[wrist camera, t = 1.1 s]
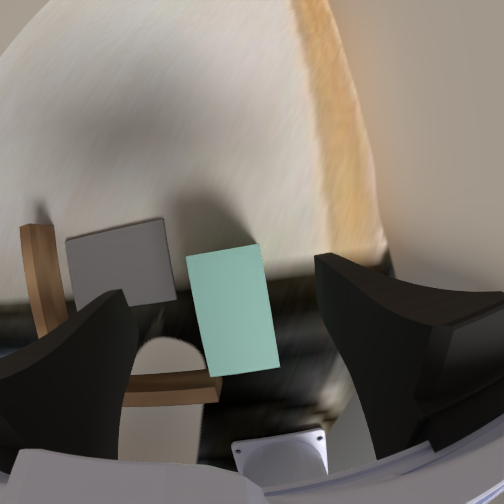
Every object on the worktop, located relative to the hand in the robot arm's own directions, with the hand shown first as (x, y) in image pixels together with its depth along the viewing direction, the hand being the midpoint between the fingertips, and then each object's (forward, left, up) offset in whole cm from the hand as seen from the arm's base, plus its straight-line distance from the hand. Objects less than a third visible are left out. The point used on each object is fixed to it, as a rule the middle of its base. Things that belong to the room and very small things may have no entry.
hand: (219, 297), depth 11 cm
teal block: (-2, 0, -11) cm, 11 cm away
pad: (+2, +9, -11) cm, 15 cm away
